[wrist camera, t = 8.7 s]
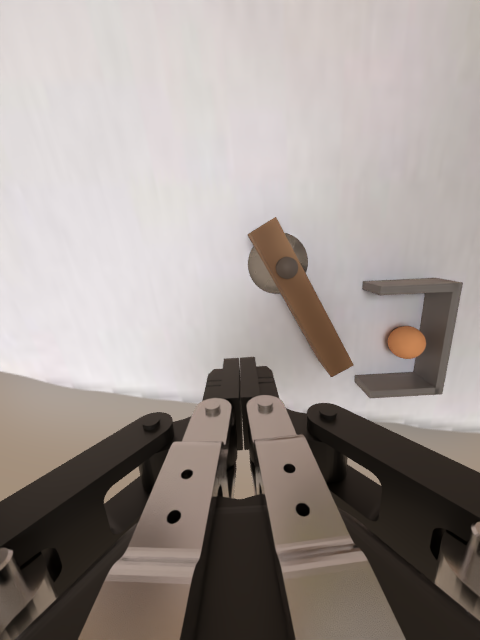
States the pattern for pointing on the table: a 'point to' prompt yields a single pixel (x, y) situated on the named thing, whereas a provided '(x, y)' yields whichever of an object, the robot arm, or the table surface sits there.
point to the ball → (406, 342)
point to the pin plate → (260, 270)
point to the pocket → (436, 331)
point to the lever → (300, 296)
